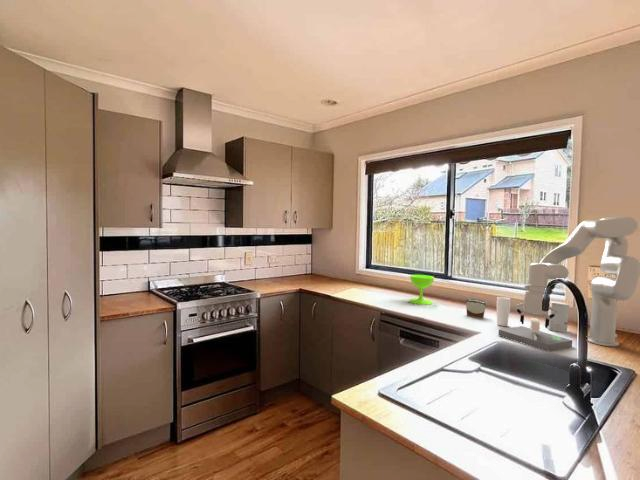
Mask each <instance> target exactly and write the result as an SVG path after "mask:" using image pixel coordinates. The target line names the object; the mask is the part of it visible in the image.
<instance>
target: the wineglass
mask: <svg viewBox="0 0 640 480" xmlns="http://www.w3.org/2000/svg"><path fill="white" fill-rule="evenodd" d="M409 278H410V282H411V283H412V285H413V286H415V287H416V288H419V297H417V298H410V299H409V300H408V302H409V303H411V304H415V305H422V306H423V305H425V306H429V305H430V306H431V305H433V304H434V303H433V301H431V300H429V299H426V298H424V297H423V295H424V294H423V291H424V289H426V288H428V287H430V286H431V285H432V284H433V283H434V278H435V277H434V276H431V275H425V274H411V275H410V276H409Z"/></svg>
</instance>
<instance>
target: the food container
mask: <svg viewBox="0 0 640 480" xmlns="http://www.w3.org/2000/svg"><path fill="white" fill-rule="evenodd" d="M464 302H465V304H466V307H465V308H466V316H468V317H472V318H478V319H484V318H485V312H486V311H485V310H486V307H487V306H488V303H487V301H486V300H484V299H480V298H473V297H472V298H468V297H467V298H465V300H464Z"/></svg>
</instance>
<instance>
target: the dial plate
mask: <svg viewBox="0 0 640 480" xmlns="http://www.w3.org/2000/svg"><path fill="white" fill-rule="evenodd" d="M497 334H498V336H499V335H500V336H499V337H502V336H504V337H503V338H505V337H507V338H506V339H508V338H509V340H511V339H512V340H511V341H514V340H515V342H517V341H518V342H517V343H520V342H522V343H521V344H523V343H525V344H524V345H526V344H528V345H527V346H529V345H531V346H530V347H534V348H537V349H539V348H540V349H539V350H542V349H543V350H542V351H545V350H546V352H548V351H549V352H553V351H558V350H563V349H567V348H572V347H573V339H570V338H569V339H568V338H565V337H562V336H559V335H555V334H551V333H548V332H544V331H540V330H539V333H537V335H536V336H537V339H534V335H533V334H532V332H531V328H530V327H525V326H523V325H521V326H515V327H514V326H513V327H507V328H500V329H499V328H498V333H497Z"/></svg>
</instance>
